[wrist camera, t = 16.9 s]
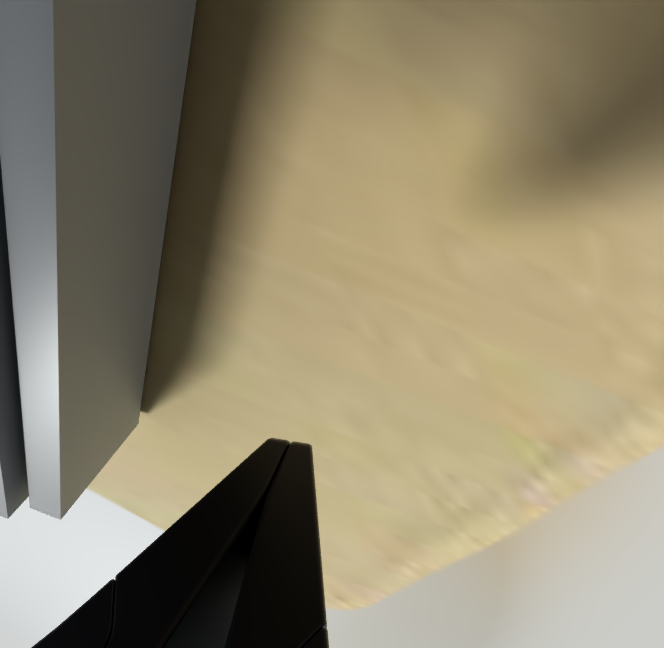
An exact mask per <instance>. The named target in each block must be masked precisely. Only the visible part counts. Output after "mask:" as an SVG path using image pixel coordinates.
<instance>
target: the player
mask: <svg viewBox="0 0 664 648" xmlns="http://www.w3.org/2000/svg"><path fill="white" fill-rule="evenodd" d="M28 496H29V490H28V478H27V466H26V454H25V442H24V431H23V419H22V407H21V395H20V383H19V372H18V360H17V349H16V337H15V325H14V313H13V301H12V290H11V278H10V266H9V254H8V242H7V231H6V219H5V207H4V195H3V183H2V171H1V160H0V516H3V517H5V518H9V517H10V516H11V515H12V513H14V511H15V510H16V509H17V508H18V507H19V506H20V505H21V504H22V503H23V502H24V501H25V500H26V498H27V497H28Z"/></svg>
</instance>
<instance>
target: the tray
mask: <svg viewBox="0 0 664 648" xmlns="http://www.w3.org/2000/svg"><path fill="white" fill-rule="evenodd" d="M195 8H196V0H0V159H1V170H2V182H3V194H4V206H5V218H6V230H7V241H8V253H9V265H10V277H11V289H12V300H13V313H14V325H15V337H16V349H17V360H18V372H19V383H20V395H21V407H22V419H23V431H24V442H25V454H26V466H27V478H28V490H29V502H30V508H33V509H35V510H37V511H40V512H42V513H45V514H47V515H50V516H52V517H55V518H58V519H62V517H63V516H64V515H65V514H66V513H67V511H68V510H69V509H70V508H71V506H72V505H73V504H74V503H75V501H76V500H77V499H78V498H79V496H80V495H81V494H82V493H83V492H84V490H85V489H86V488H87V487H88V485H89V484H90V483H91V482H92V480H93V479H94V478H95V477H96V475H97V474H98V473H99V472H100V470H101V469H102V468H103V467H104V466H105V464H106V463H107V462H108V461H109V459H110V458H111V457H112V456H113V454H114V453H115V452H116V451H117V449H118V448H119V447H120V446H121V444H122V443H123V442H124V441H125V440H126V438H127V437H128V436H129V435H130V433H131V432H132V431H133V430H134V428H135V427H136V426H137V425H138V422H139V415H140V408H141V400H142V393H143V386H144V379H145V371H146V364H147V357H148V350H149V342H150V335H151V328H152V320H153V313H154V306H155V299H156V291H157V284H158V277H159V269H160V262H161V255H162V248H163V240H164V233H165V226H166V219H167V211H168V204H169V197H170V189H171V182H172V175H173V168H174V160H175V153H176V146H177V139H178V131H179V124H180V117H181V109H182V102H183V95H184V88H185V80H186V73H187V66H188V58H189V51H190V44H191V37H192V29H193V22H194V15H195Z"/></svg>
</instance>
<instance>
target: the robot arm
mask: <svg viewBox="0 0 664 648" xmlns="http://www.w3.org/2000/svg"><path fill="white" fill-rule="evenodd" d="M326 624H327V621H326V609H325V597H324V585H323V573H322V561H321V549H320V537H319V525H318V513H317V501H316V489H315V477H314V465H313V453H312V446H311V445H310V444H307V443H300V442H291V443H290V442H289V441H287V440H282V439H276V438H270V439H268V440H267V441H265V442H264V443H263V444H262V445H261V446H260V447H259V448H258V449H256V450H255V451H254V452H253V453H252V454H251V455H250V456H249V457H248V458H246V459H245V460H244V461H243V462H242V463H241V464H240V465H239V466H238V467H236V468H235V469H234V470H233V471H232V472H231V473H230V474H229V475H228V476H226V477H225V478H224V479H223V480H222V481H221V482H220V483H219V484H217V485H216V486H215V487H214V488H213V489H212V490H211V491H210V492H209V493H207V494H206V495H205V496H204V497H203V498H202V499H201V500H200V501H199V502H197V503H196V504H195V505H194V506H193V507H192V508H191V509H190V510H189V511H187V512H186V513H185V514H184V515H183V516H182V517H181V518H180V519H179V520H177V521H176V522H175V523H174V524H173V525H172V526H171V527H170V528H168V529H167V530H166V531H165V532H164V533H163V534H162V535H161V536H160V537H158V538H157V539H156V540H155V541H154V542H153V543H152V544H151V545H150V546H148V547H147V548H146V549H145V550H144V551H143V552H142V553H141V554H140V555H138V556H137V557H136V558H135V559H134V560H133V561H132V562H131V563H130V564H128V565H127V566H126V567H125V568H124V569H123V570H122V571H121V572H119V573H118V574H117V575H116V578H115V580H114V579H112V580H110V581H109V582H108V583H107V584H106V585H105V586H104V587H103V588H101V589H100V590H99V591H98V592H97V593H96V594H95V595H94V596H92V597H91V598H90V599H89V600H88V601H87V602H86V603H84V604H83V605H82V606H81V607H80V608H79V609H77V610H76V611H75V612H74V613H73V614H72V615H71V616H69V617H68V618H67V619H66V620H65V621H64V622H62V623H61V624H60V625H59V626H58V627H57V628H55V629H54V630H53V631H52V632H50V633H49V634H48V635H47V636H45V637H44V638H43V639H42V640H40V641H39V642H38V643H37V644H35V645H34V646H33V647H32V648H329V643H328V631H327V625H326Z"/></svg>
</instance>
